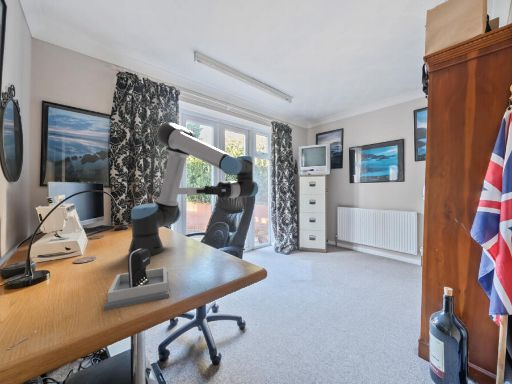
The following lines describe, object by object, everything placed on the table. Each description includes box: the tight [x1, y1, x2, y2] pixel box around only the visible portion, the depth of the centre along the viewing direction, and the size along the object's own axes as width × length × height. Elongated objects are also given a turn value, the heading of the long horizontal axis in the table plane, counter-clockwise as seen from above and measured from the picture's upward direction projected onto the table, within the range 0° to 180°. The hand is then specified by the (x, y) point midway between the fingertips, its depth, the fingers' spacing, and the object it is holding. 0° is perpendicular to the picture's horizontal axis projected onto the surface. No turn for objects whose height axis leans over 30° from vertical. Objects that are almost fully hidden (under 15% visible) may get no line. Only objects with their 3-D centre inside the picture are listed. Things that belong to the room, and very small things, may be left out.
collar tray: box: [103, 266, 170, 311], centre depth 69 cm, size 18×16×4 cm
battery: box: [127, 249, 151, 288], centre depth 69 cm, size 7×4×11 cm, turn 177°
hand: (180, 191), depth 87 cm, fingers open, 13 cm apart
